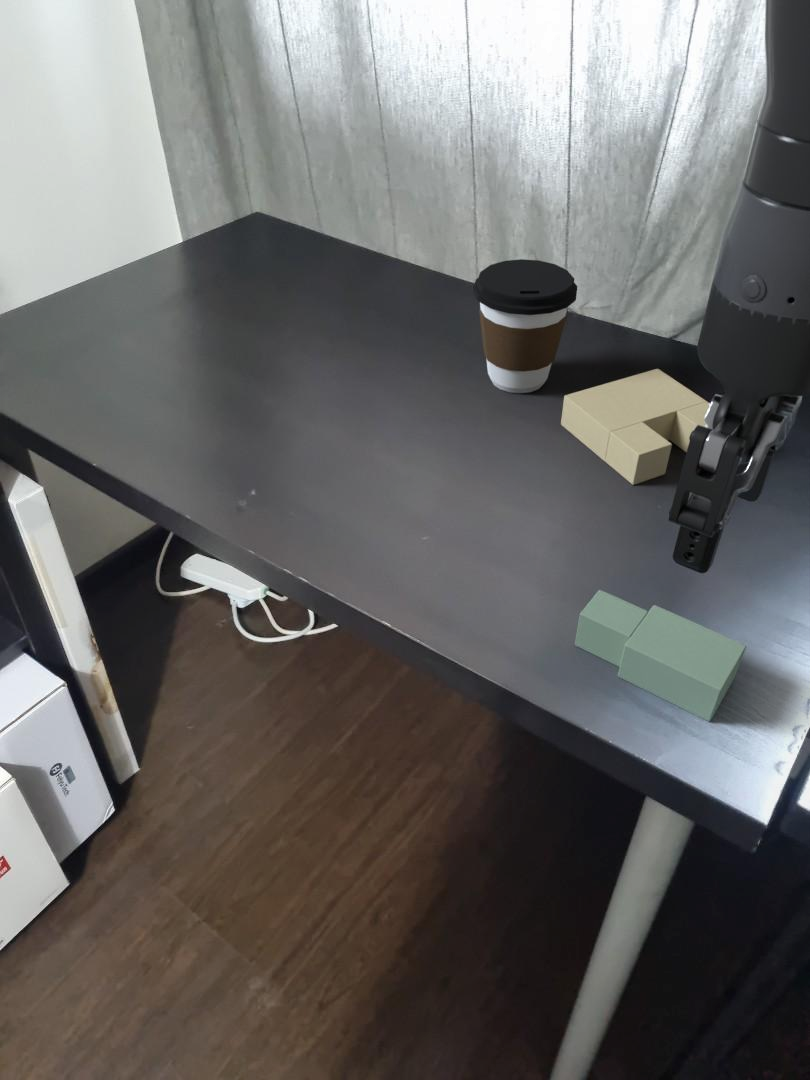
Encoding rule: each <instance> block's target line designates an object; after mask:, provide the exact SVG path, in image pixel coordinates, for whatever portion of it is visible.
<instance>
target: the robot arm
mask: <svg viewBox="0 0 810 1080" xmlns="http://www.w3.org/2000/svg"><path fill="white" fill-rule="evenodd" d="M764 54H765V55H764V58H765V90H764V93H763V97H762V100H761V105H760V106H759V110H758V115H757V120H756V122H755V126H754V130H753V134H752V138H751V143H750V146H749V151H748V154H747V158H746V163H745V167H744V171H743V175H742V179H741V184H740V188H739V190H738V194H737V196H736V199H735V202H734V204H733V205H732V209H731V211H730V213H729V217H728V220H727V223H726V225H725V229H724V233H723V235H722V240H721V244H720V248H719V253H718V257H717V262H716V266H715V270H714V274H713V278H712V283H711V286H710V290H709V294H708V299H707V304H706V308H705V312H704V316H703V321H702V323H701V329H700V333H699V336H698V341H697V346H696V352H697V357H698V358H699V361H700V363H701V365H702V366H703V367H704V368H705V370H706V371H708V372H709V374H711V375H713V376H714V377H715V378H716V379H717V380H718V381H719V383H720V384H721V385H722V387H723V389H724V390H723V393H722V394H718V393H715V394H714V396H713V397H712V398H711V401H710V402H709V403H710V405H709V407H708V410H707V412H706V414H705V422H706V426H705V427H703V426H700V425H697V426H696V428H695V429H694V431H692V432H691V434H690V437H689V440H690V441H689V445H688V449H687V453H686V452H685V456H684V460H683V464H682V467H681V470H680V475H679V479H678V482H677V485H676V489H675V493H674V497H673V500H672V504H671V507H670V509H669V511H668V522H670V523H672V524H676V525H677V526H680V527H679V529H678V533H677V537H676V541H675V545H674V548H673V553H672V560H673V561H674V562H675V564H677V565H679V566H682V567H684V568H687V569H689V570H691V571H694V572H696V573H699V574H705V573H708V572H709V570H710V568H711V567H712V566H713V563H714V560H715V557H716V554H717V551H718V548H719V545H720V542H721V539H722V535H723V532H724V528H725V526H727V525H728V523H729V521H730V519H731V516H730V515H731V512H732V510H733V508H734V507H735V503H736V501H737V499H738V498H739V499H741V500H744V501H747V502H755V501H757V500H758V499H759V497H760V496H761V494H762V493H763V490H764V487H765V484H766V480H767V478H768V476H769V475H768V474H769V471H770V469H771V466H772V462H773V460H774V458H775V457H774V456H775V454H776V451H777V452H778V451H779V450H780V448H781V447H783V445H784V443H785V440H787V438H788V436H789V434H790V432H791V430H792V428H793V426H794V425H795V424H796V422H797V420H798V417H797V414H798V411H799V409H800V406H801V404H802V401H803V397H806V396H810V0H764ZM699 496H700V497H703V498H706V499H707V500H705V499H702V498H700V497H699ZM708 500H709V501H708Z"/></svg>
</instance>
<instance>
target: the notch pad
mask: <svg viewBox="0 0 810 1080" xmlns="http://www.w3.org/2000/svg"><path fill="white" fill-rule="evenodd" d="M710 403H711V402H709V401H707V400H706V399H705V398H703V397H701V396H700V395H699V394H696V393H695V392H693V391H692V390H691V389H689V388H688V387H686V386H684V385H683V384H682V383H680V382H678V381H677V380H675V379H674V378H673V377H672V376H670V375H668V374H667V373H665V372H664V371H662V370H661V369H659V368H655V369H651V370H647V371H645V372H642V373H637V374H634V375H631V376H627V377H624V378H620V379H616V380H612V381H610V382H606V383H603V384H600V385H596V386H593V387H589V388H586V389H582V390H579V391H575V392H572V393H568V394H565V395H564V396H563V404H562V413H561V418H560V419H561V420H560V425H561V426H562V427H563V428H564V429H566V431H568V432H569V433H570V434H571V435H572V436H574V437H575V438H576V439H577V440H578V441H580V442H581V443H582V444H583V445H584V446H586V447H587V448H588V449H589V450H590V451H591V452H593V453H594V454H595V455H596V456H598V457H599V458H600V459H601V460H602V461H604V462H605V463H606V464H608V466H609V467H611V468H612V469H613V470H614V471H615V472H617V473H618V474H619V475H620V476H622V477H623V478H624V479H625V480H626V481H627V482H629V483H630V484H631V485H632V486H634V485H637V484H641V483H643V482H647V481H649V480H652V479H655V478H658V477H660V476H663V475H665V474H666V471H667V468H668V463H669V459H670V454H671V450H672V446H673V444H674V445H676V446H677V447H678V448H680V449H681V450H682V451H683V452H685V454H686V453H687V449H688V445H689V441H690V440H689V437H690V434H691V432H692V431H694V429H695V428H696V426H697V425H700V426H703V427H705V426H706V422H705V414H706V412H707V410H708V407H709V405H710ZM672 443H673V444H672Z"/></svg>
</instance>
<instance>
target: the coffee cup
mask: <svg viewBox="0 0 810 1080" xmlns="http://www.w3.org/2000/svg"><path fill="white" fill-rule="evenodd" d="M472 288H473V289H472V294H473V295H474V297H475V299H476V300H477V302H479V309H478V313H479V321H480V330H481V331H480V332H481V338H482V346H483V347H482V348H483V355H484V357H485V359H486V360H485V361H486V368H487V375H488V377H489V379H490V381H491V382H492V385H493V386H494V387H496V388H497V389H499V390H501V391H504V392H507V393H512V394H528V393H532V392H535V391H537V390H539V389H540V388H541V387H543V385H544V384H545V383H546V382H547V380H548V379H549V378H548V377H549V374H550V371H551V367H552V364H553V362H554V361H555V359H556V356H557V352H558V348H559V346H560V341H561V339H562V334H563V331H564V328H565V325H566V321H567V317H568V312H569V307H570V306H571V305H572V304H574V303H575V302H576V301H577V295H578V285H577V283H575V277H574V276H573V275H572V273H570V272H569V270H568V269H566V268H564V267H562V266H560V265H558V264H556V263H551V262H547V261H544V260H539V259H524V258H523V259H522V258H521V259H509V260H503V261H499V262H496V263H493V264H490V265H488V266H487V267H485V268H484V269H482V270H481V271H480V272H479V274H478V277H476V279H475V281H474V283H473V286H472Z"/></svg>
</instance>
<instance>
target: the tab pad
mask: <svg viewBox="0 0 810 1080" xmlns="http://www.w3.org/2000/svg"><path fill="white" fill-rule="evenodd" d="M574 646H575V647H577V648H578V649H579V648H580V649H582V650H583V651H586V652H588V653H589V654H591V655H594V656H595V657H598V658H600V659H602V660H604V661H606V662H608V663H610V664H612V665H614V666H615V667H618V673H617V677H618V678H619V679H622V680H624V681H626V682H627V683H630V684H632V685H634V686H636V687H638V688H640V689H642V690H644V691H645V692H648V693H650V694H652V695H653V696H656V697H658V698H661V699H662V700H664V701H666V702H669V703H670V704H673V705H674V706H677V707H678V708H679V709H682V710H685V711H686V712H689V713H691V714H692V715H694V716H696V717H698V718H701V719H702V720H705V721H707V722H711V720H712V719H713V718H714V716H715V714H716V712H717V710H718V708H719V706H720V705H721V703H722V701H723V700H724V698H725V696H726V694H727V692H728V690H729V689H730V687H731V685H732V683H733V682H734V680H735V678H736V676H737V673H738V671H739V668H740V665H741V662H742V660H743V658H744V655H745V652H746V650H747V645H746V644H744V643H742V642H740V641H738V640H735V639H733V638H731V637H729V636H726V635H724V634H721V633H719V632H717V631H715V630H713V629H710V628H708V627H706V626H703V625H701V624H699V623H696V621H695V622H694V621H692V620H690V619H688V618H686V617H683V616H681V615H679V614H676V613H674V612H672V611H669V610H668V609H665V608H663V607H661V606H659V605H656V604H653V605H652V606H651V608H650V609H649V610H647V609H644V608H642V607H640V606H637V605H635V604H633V603H631V602H629V601H626V600H624V599H622V598H620V597H617V596H616V595H613V594H611V593H608V592H606V591H604V590H602V589H598V591H597V592H596V593H595V595H593V597H592V598H591V600H590V601H589V602H588V603H587V604H586V605H585V607H584V608H583V609H582V610H581V612H580V613H579V618H578V624H577V630H576V635H575V641H574Z"/></svg>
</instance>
